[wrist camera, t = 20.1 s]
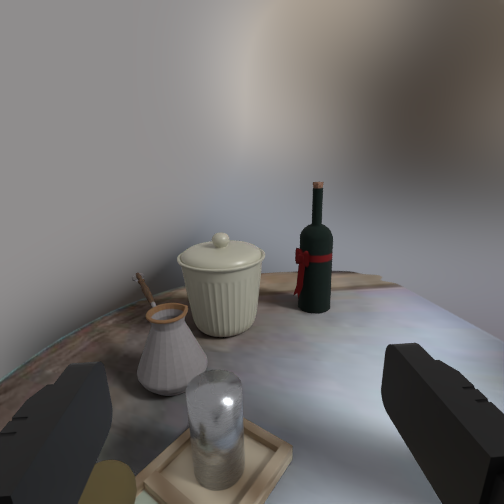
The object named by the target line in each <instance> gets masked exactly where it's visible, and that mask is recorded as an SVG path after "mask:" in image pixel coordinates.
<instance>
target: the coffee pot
mask: <svg viewBox="0 0 504 504" xmlns="http://www.w3.org/2000/svg"><path fill="white" fill-rule="evenodd" d="M141 275H143V274H141ZM141 275H140V274H139V273H136V275H134V276H136V277H137V279H138V280H133V281H138V283H139V284H140V285H141V288H142V291H143V293H144V295H145V297H146V298H147V300H148V302H149V303H150V305H151V306H152V308H151V309H150V310H148V312H147V313H146V319H147V320H148V321H149V322H150V323H151V325H152V326H151V329H150V332H149V335H148V338H147V341H146V344H145V347H144V350H143V353H142V356H141V359H140V362H139V365H138V370H137V376H138V380H139V382H140V383H141V384H142V385H143V386H144V387H145V388H146V389H147V390H149V391H151V392H153V393H157V394H159V395H164V396H173V395H178V394H181V393H184V392H186V388H187V385H188V384H189V382H190V381H191V380H192V379H193V378H194V377H196V376H197V375H199V374H201V373H203V372H205V371H206V368H207V364H208V361H207V356H206V354H205V353H204V351H203V350H202V348H201V346H200V345H199V343H198V342H197V340H196V338H195V337H194V335H193V334H192V332H191V330H190V329H189V327H188V326H187V324H186V322H185V321H184V320H185V316H186V314H187V312H188V306H187V305H184V304H180V303H165V304H161V305H158V306H156V304H155V301H154V299H153V297H152V294H151V292H150V290H149V288H148V286H147V285H146V284H145V283H144V281H145V280H144V279H143V278H144V275H143V278H141ZM134 276H133V277H134ZM133 277H132V279H133Z"/></svg>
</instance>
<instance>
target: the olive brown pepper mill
mask: <svg viewBox="0 0 504 504" xmlns="http://www.w3.org/2000/svg"><path fill="white" fill-rule="evenodd" d="M136 493H137V487H136V479H135V476H134V474H133V472H132V471H131V469H130V467H129V466H128V465H126V464H125V463H123V462H121V461H117V460H105V461H101V462H99V463H96V464H95V465H94V468H93V470H92V472H91V474H90V477H89V479H88V481H87V484H86V486H85V488H84V490H83V493H82V495H81V497H80V500H79V502H78V504H135V499H136Z"/></svg>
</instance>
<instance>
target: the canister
mask: <svg viewBox="0 0 504 504" xmlns="http://www.w3.org/2000/svg"><path fill="white" fill-rule="evenodd" d="M264 258H265V253H264V251H263V250H262V249H260V248H258V247H256V246H255V245H253V244H250V243H247V242H241V241H233V240H231V241H230V240H229V236H228V235H227V234H225V233H216V234H215V235H214V236H213V237H212V241H211V242H205V243H201V244H197V245H194V246H192V247H190V248H188V249H187V250H185V251H184V252H183V253H181V254H180V255H179V256H178V258H177V261H178V263H179V265H181V266H182V271H183V276H184V280H185V285H186V290H187V295H188V299H189V304H190V308H191V312H192V316H193V319H194V322H195V324H196V326H197V327H198V329H199V330H201V331H202V332H204V333H205V334H207V335H211V336H215V337H230V336H234V335H238V334H240V333H242V332H245V331H246V330H248V329H249V328H250V327H251V326H252V324H253V322H254V320H255V317H256V312H257V305H258V296H259V286H260V276H261V264H262V260H263V259H264Z"/></svg>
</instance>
